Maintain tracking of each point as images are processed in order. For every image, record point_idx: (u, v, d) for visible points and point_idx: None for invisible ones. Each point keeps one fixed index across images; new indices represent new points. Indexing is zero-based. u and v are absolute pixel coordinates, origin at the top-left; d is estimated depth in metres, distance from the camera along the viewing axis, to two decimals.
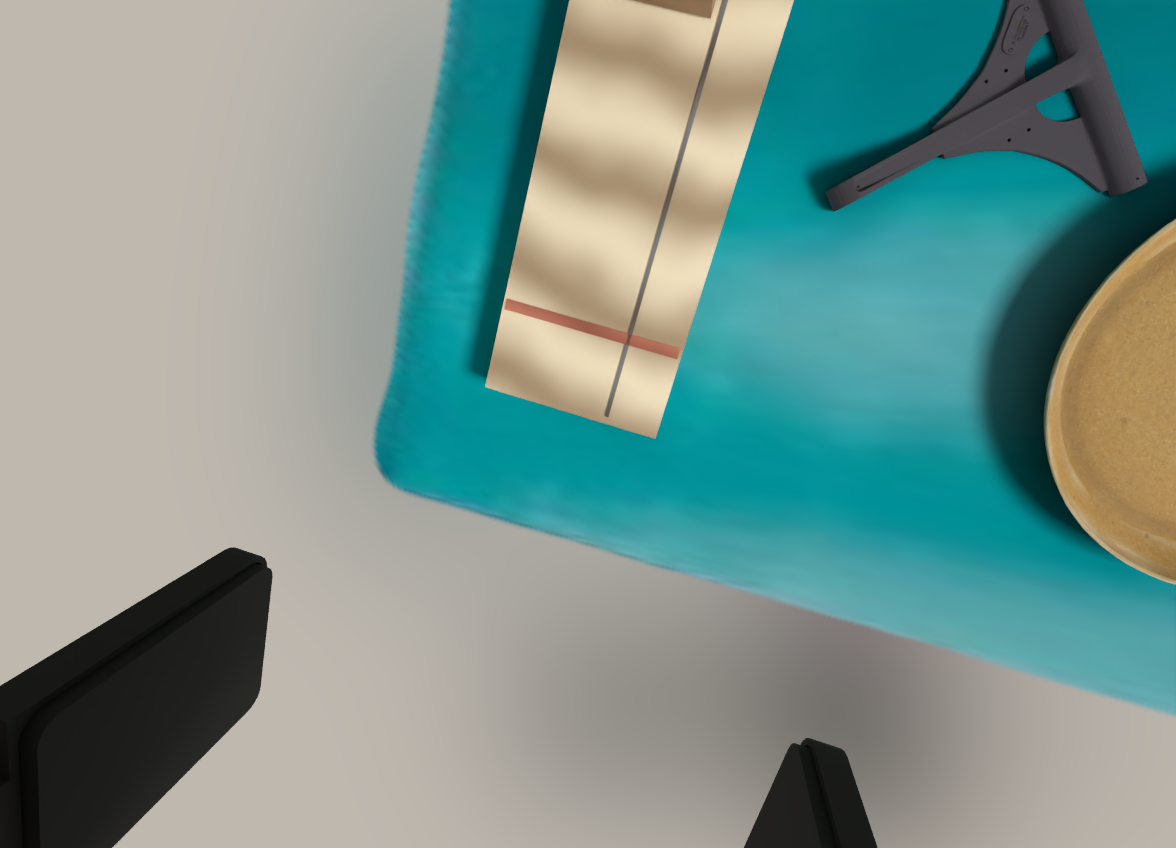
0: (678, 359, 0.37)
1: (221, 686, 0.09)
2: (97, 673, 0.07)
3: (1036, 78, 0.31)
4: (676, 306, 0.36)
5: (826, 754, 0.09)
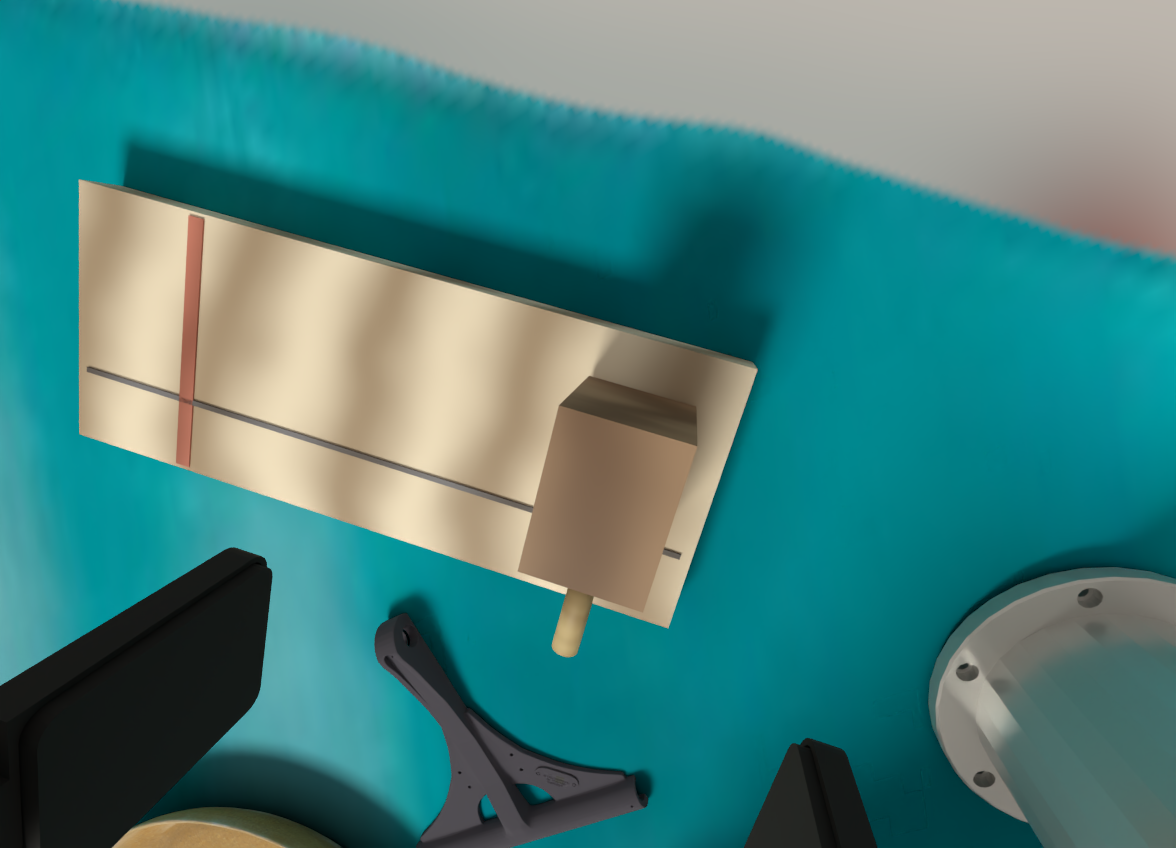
0: (177, 464, 0.28)
1: (221, 686, 0.09)
2: (97, 673, 0.07)
3: (508, 796, 0.31)
4: (236, 462, 0.27)
5: (826, 754, 0.09)
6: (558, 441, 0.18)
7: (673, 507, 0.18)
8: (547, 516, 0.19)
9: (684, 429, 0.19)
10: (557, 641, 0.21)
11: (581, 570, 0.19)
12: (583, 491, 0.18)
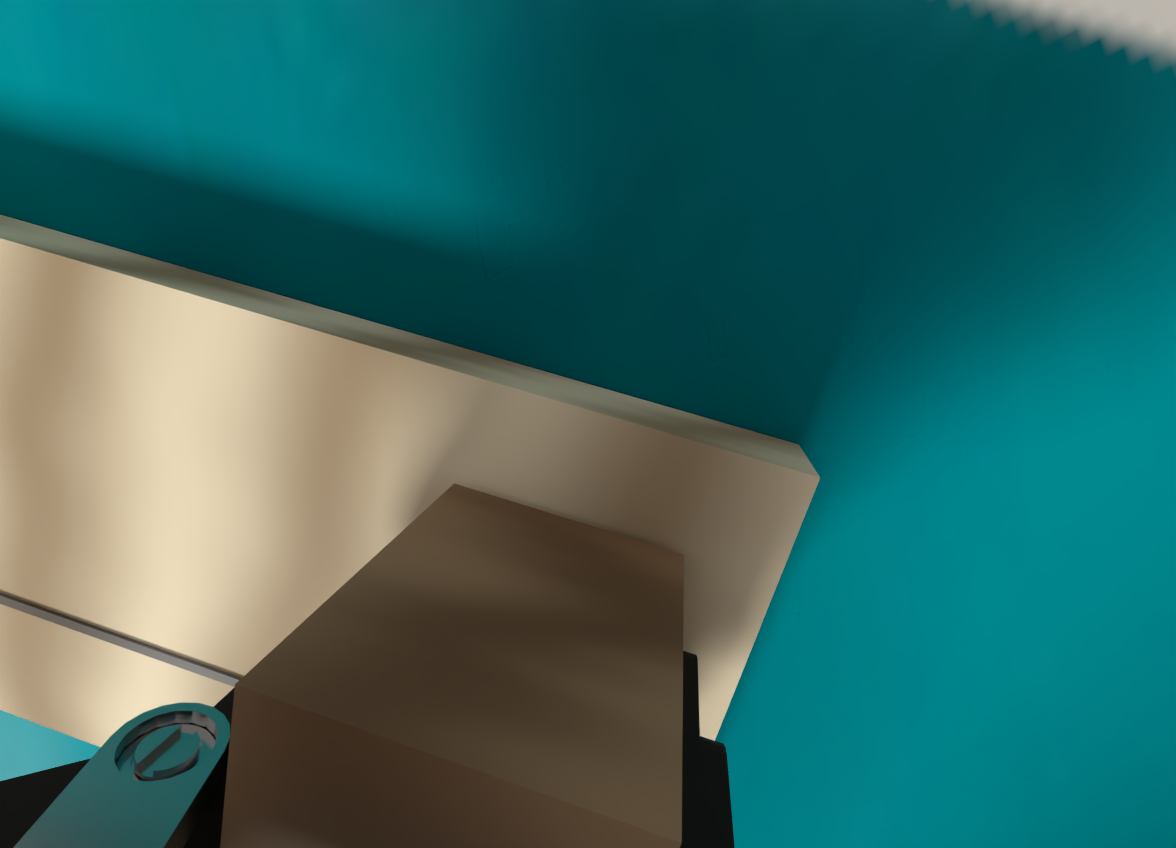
0: None
1: None
2: None
3: None
4: None
5: None
6: (250, 782, 0.06)
7: None
8: None
9: (646, 705, 0.07)
10: None
11: None
12: None
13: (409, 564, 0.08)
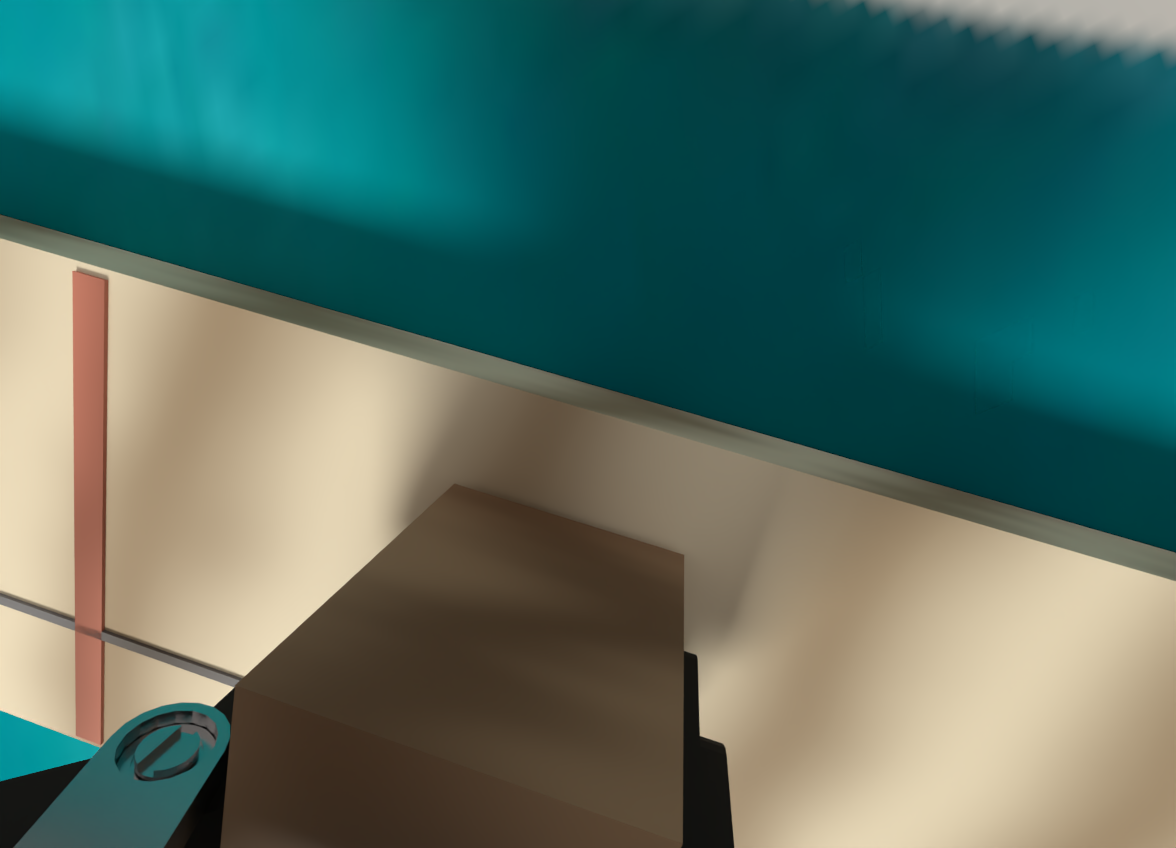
0: (80, 735, 0.15)
1: None
2: None
3: None
4: None
5: None
6: (250, 783, 0.06)
7: None
8: None
9: (647, 706, 0.07)
10: None
11: None
12: None
13: (409, 564, 0.08)
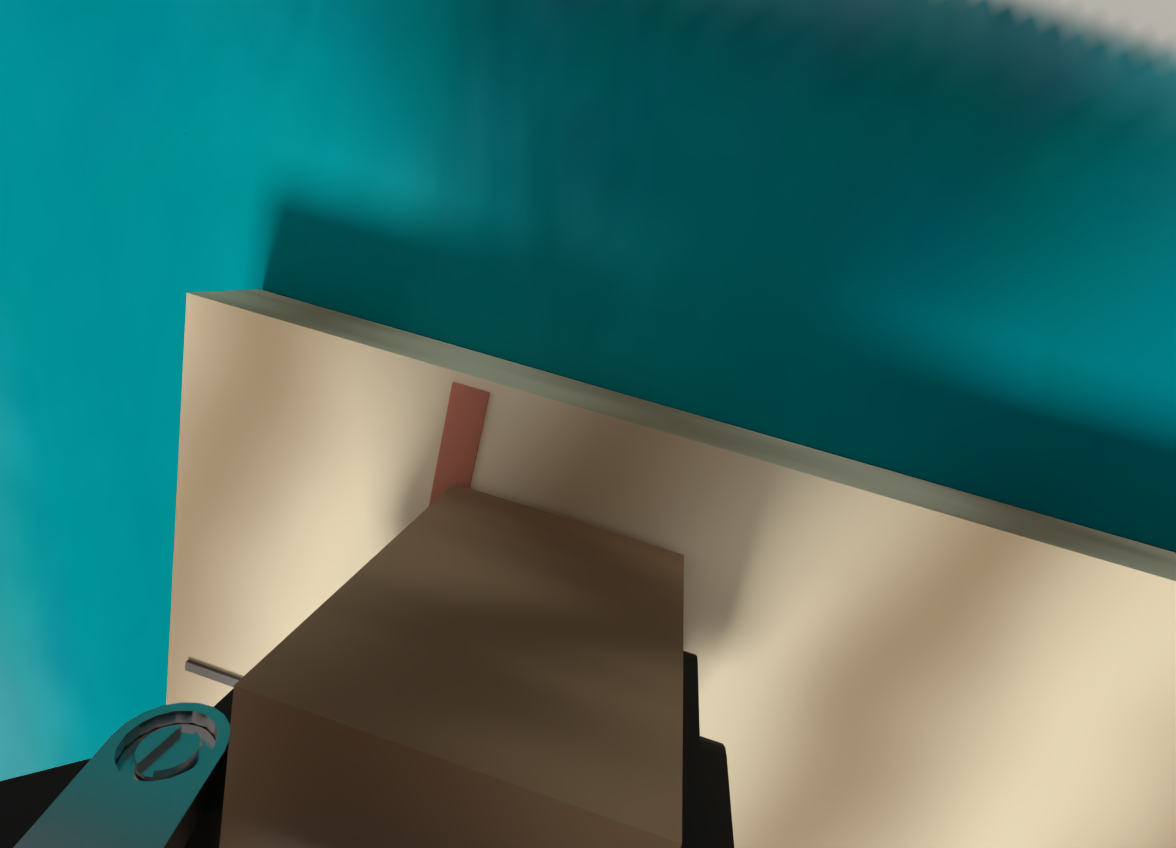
0: None
1: None
2: None
3: None
4: None
5: None
6: (250, 783, 0.06)
7: None
8: None
9: (646, 706, 0.07)
10: None
11: None
12: None
13: (409, 564, 0.08)
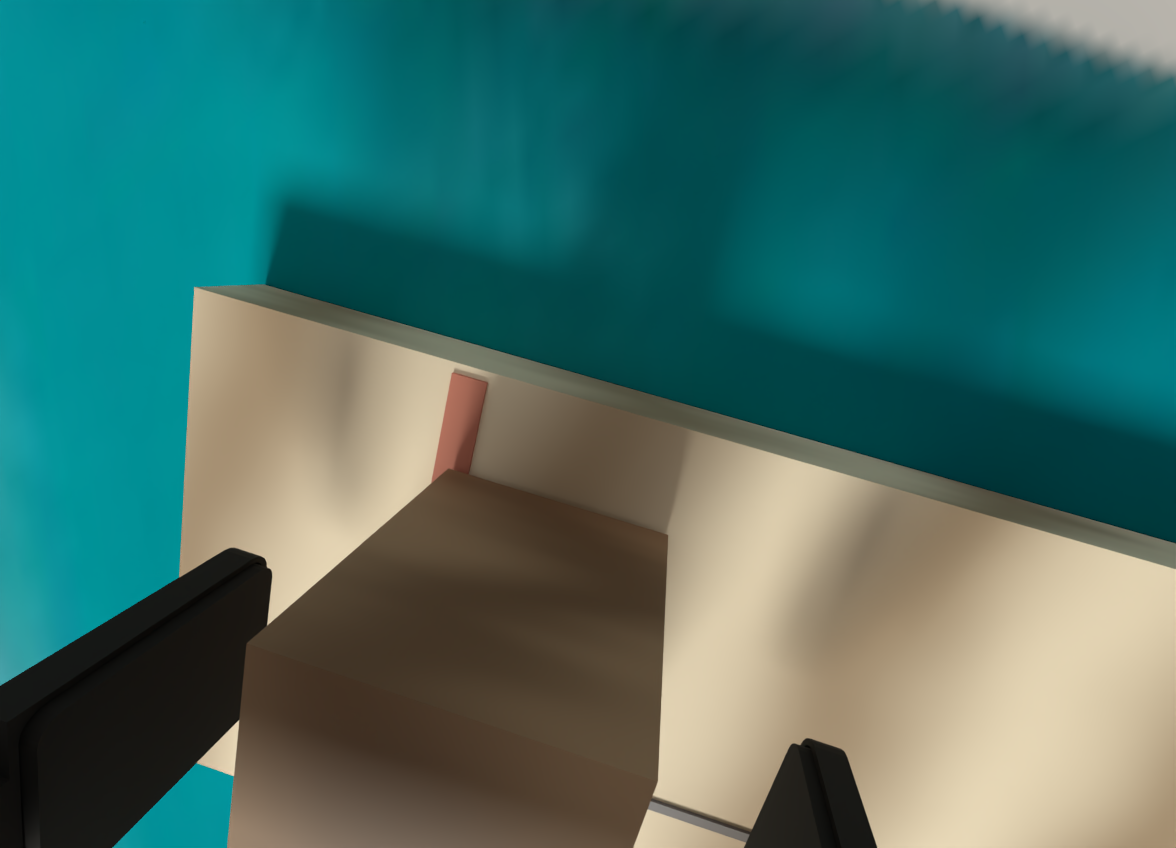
0: None
1: (221, 686, 0.09)
2: (97, 673, 0.07)
3: None
4: None
5: (826, 754, 0.09)
6: (260, 736, 0.06)
7: None
8: None
9: (628, 666, 0.07)
10: None
11: None
12: None
13: (406, 540, 0.09)
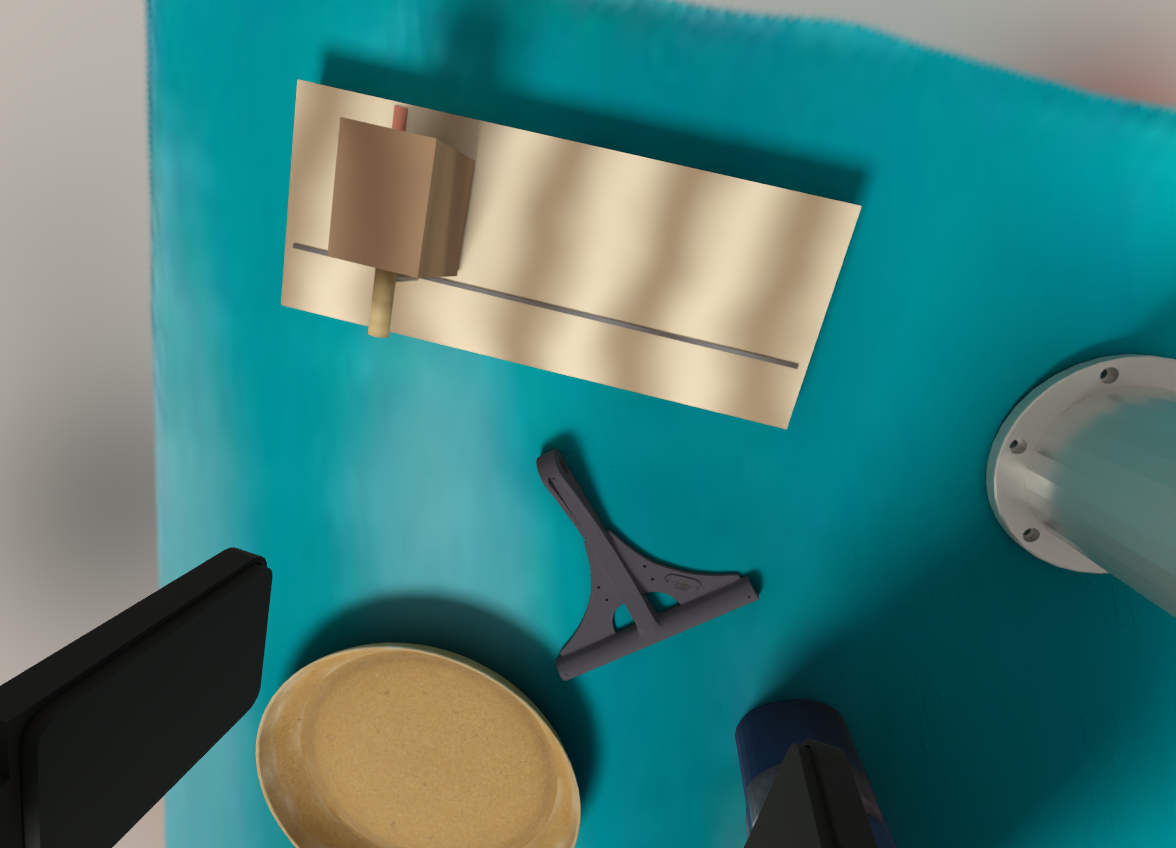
0: None
1: (221, 686, 0.09)
2: (97, 673, 0.07)
3: (642, 601, 0.38)
4: (423, 318, 0.33)
5: (826, 754, 0.09)
6: (343, 145, 0.26)
7: (427, 189, 0.26)
8: (342, 207, 0.26)
9: None
10: (370, 325, 0.29)
11: (371, 249, 0.27)
12: (365, 184, 0.26)
13: None
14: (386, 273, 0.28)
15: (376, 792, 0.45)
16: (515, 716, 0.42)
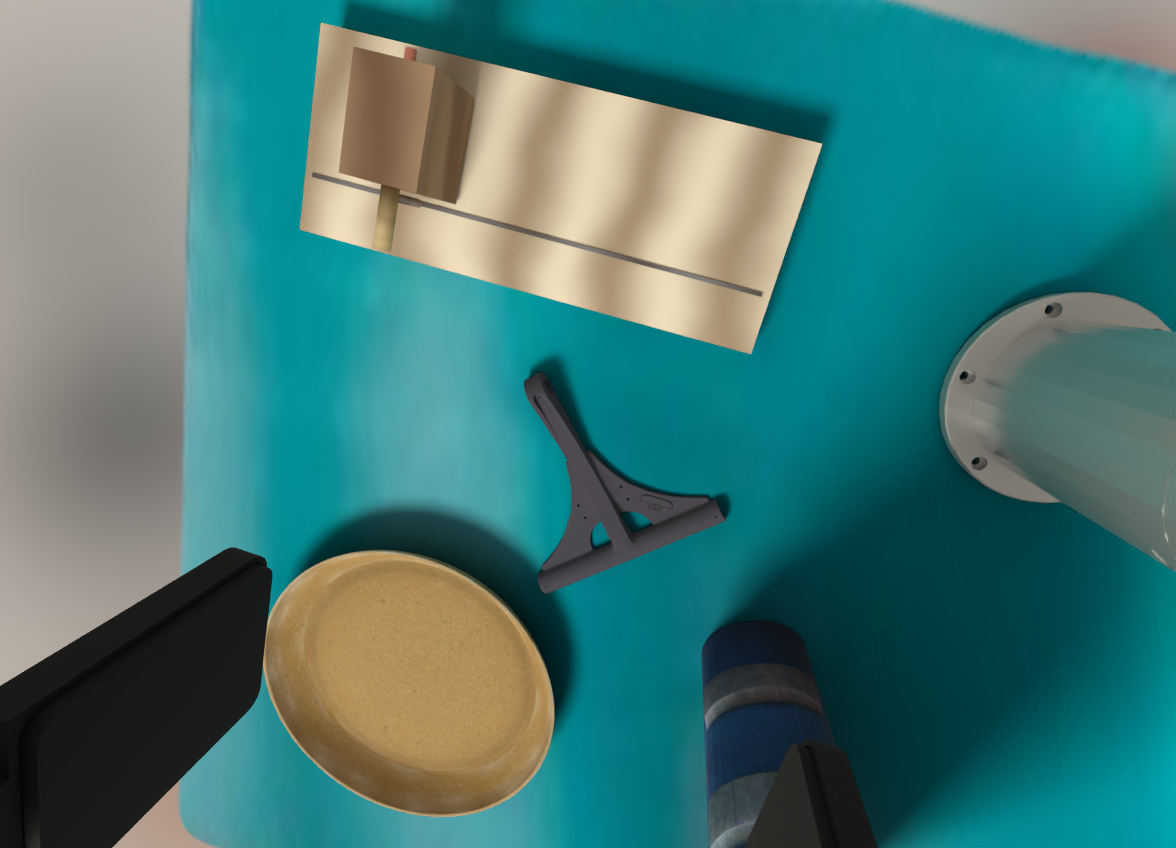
0: (377, 249, 0.37)
1: (221, 686, 0.09)
2: (97, 673, 0.07)
3: (618, 519, 0.41)
4: (425, 244, 0.37)
5: (826, 754, 0.09)
6: (355, 72, 0.29)
7: (426, 112, 0.29)
8: (352, 128, 0.30)
9: None
10: (374, 239, 0.32)
11: (376, 166, 0.30)
12: (373, 107, 0.30)
13: None
14: (390, 191, 0.32)
15: (370, 697, 0.49)
16: (499, 627, 0.45)
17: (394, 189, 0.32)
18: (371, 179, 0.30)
